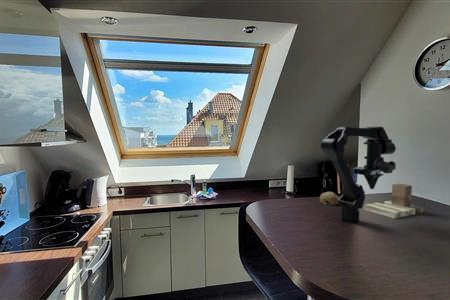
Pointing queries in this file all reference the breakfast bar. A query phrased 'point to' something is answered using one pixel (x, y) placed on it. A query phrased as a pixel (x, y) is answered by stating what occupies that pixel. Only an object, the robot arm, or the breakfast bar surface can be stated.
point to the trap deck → (392, 209)
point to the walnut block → (401, 195)
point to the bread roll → (329, 198)
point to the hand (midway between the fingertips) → (372, 188)
